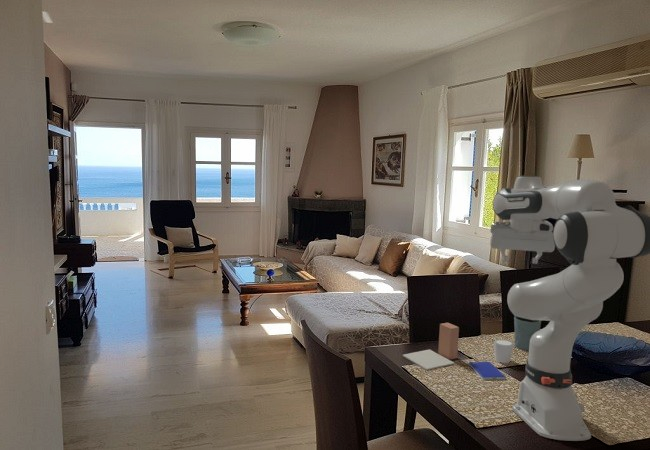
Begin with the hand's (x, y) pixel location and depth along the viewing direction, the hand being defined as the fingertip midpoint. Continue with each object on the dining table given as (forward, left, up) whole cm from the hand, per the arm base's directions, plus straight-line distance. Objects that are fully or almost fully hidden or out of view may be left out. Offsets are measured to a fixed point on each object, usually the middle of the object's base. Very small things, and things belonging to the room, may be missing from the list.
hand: (519, 262), depth 162 cm
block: (+13, +20, -40) cm, 46 cm away
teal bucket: (+26, -14, -40) cm, 50 cm away
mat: (+8, +28, -40) cm, 49 cm away
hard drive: (0, +9, -40) cm, 41 cm away
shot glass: (+11, 0, -40) cm, 41 cm away
